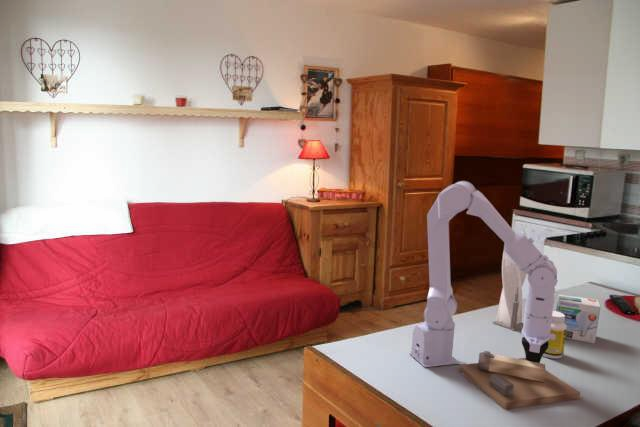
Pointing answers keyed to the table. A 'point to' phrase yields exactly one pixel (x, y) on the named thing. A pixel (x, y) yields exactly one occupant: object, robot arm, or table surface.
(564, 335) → the pill bottle
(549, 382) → the stool seat
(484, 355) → the folding leg
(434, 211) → the robot arm
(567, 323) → the light bulb box
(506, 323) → the skyscraper
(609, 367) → the table surface
